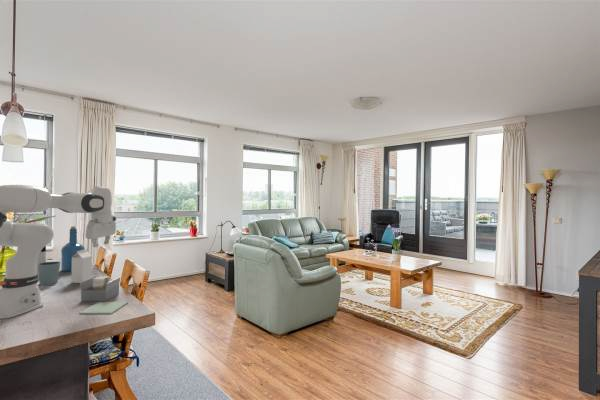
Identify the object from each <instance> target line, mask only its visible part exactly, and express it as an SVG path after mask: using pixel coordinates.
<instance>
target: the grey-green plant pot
mask: <svg viewBox="0 0 600 400" xmlns="http://www.w3.org/2000/svg"><path fill="white" fill-rule="evenodd" d="M38 269H39V278H40V279H38V283H39V285H40V286H44V287H45V286H51V285H57V284H58V283H59V275H60V269H61V261H46V262H43V263H39V264H38Z"/></svg>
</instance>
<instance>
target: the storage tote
mask: <svg viewBox="0 0 600 400" xmlns="http://www.w3.org/2000/svg"><path fill="white" fill-rule="evenodd" d="M95 278H97V277H96V276H93V277H91V279H89V280H86V281H84V282H81V283H79V287H80V292H81V293H80V295H81V296H80V298H81V299H80V301H81V302H108V301H109V300H111V299H113V298H114V297H116V296H117V295H119V294H120V281H121V276H118V277H117V278H115V279H112V280H110V281H109V282H108V283H107V284H106V289H105V291H93V279H95Z"/></svg>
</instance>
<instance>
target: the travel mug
mask: <svg viewBox="0 0 600 400" xmlns="http://www.w3.org/2000/svg"><path fill="white" fill-rule="evenodd" d="M46 246H47V245H46ZM46 246H45V247H44V248H43V249H42V250H41V252H40V254H39V257H38V263H37V274H38V277H39V269H38V264H39V263H43V262H47V247H46ZM39 279H40V278H39ZM39 279H38V280H39Z"/></svg>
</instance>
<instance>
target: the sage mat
mask: <svg viewBox="0 0 600 400" xmlns="http://www.w3.org/2000/svg"><path fill="white" fill-rule="evenodd" d="M128 304H129V303H128V301H96V303H94V304H93V305H90V306H88V307H87V308H84V310H81V311H79V315H112V313H113V314H114V313H115V311H116V312H117V311H118V309H119V310H120V309H121V308H123V307H125V306H126V305H128Z"/></svg>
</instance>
